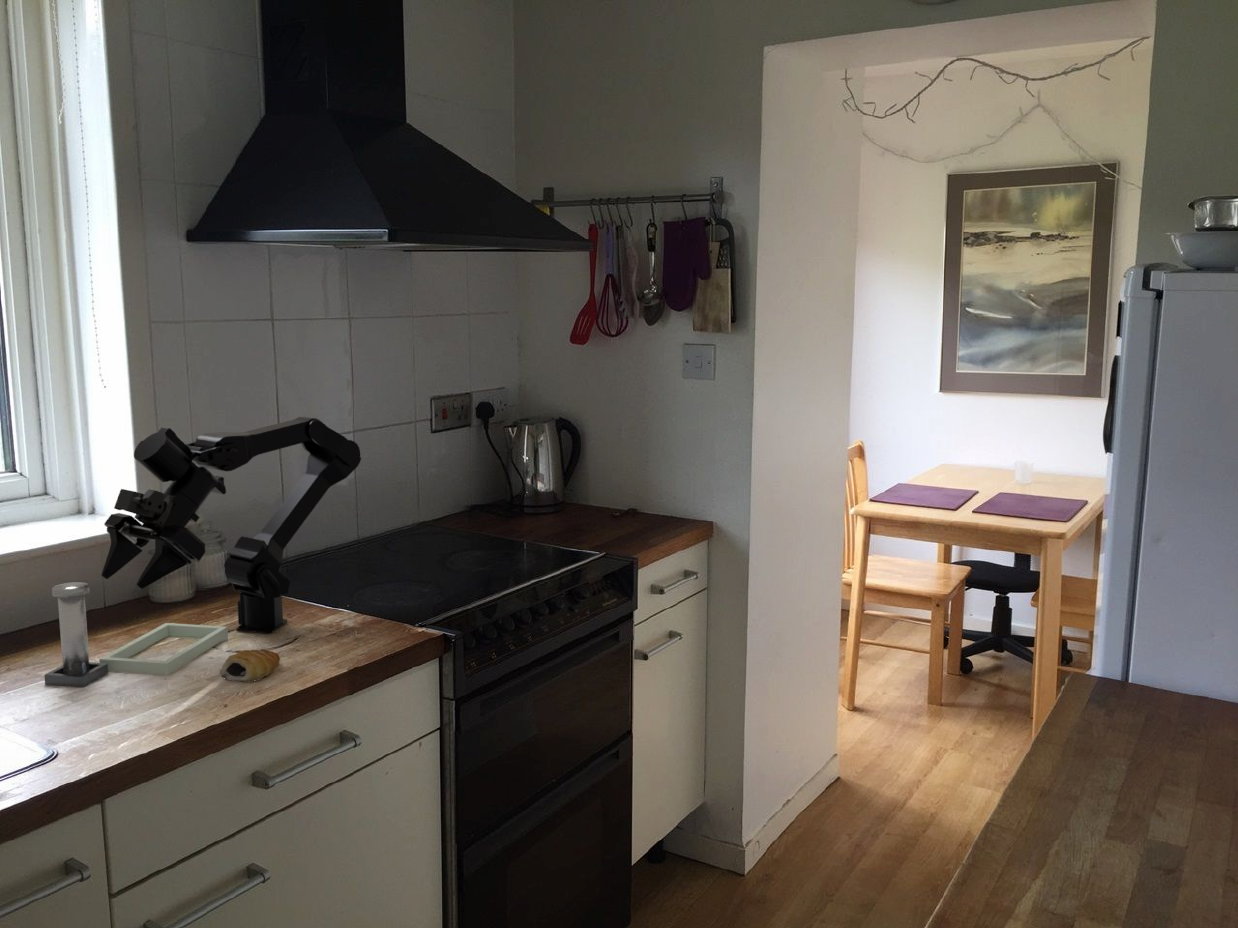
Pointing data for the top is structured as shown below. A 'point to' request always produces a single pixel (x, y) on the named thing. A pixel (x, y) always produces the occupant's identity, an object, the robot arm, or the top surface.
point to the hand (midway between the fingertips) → (121, 582)
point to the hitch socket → (76, 676)
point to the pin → (73, 626)
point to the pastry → (250, 665)
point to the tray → (208, 639)
